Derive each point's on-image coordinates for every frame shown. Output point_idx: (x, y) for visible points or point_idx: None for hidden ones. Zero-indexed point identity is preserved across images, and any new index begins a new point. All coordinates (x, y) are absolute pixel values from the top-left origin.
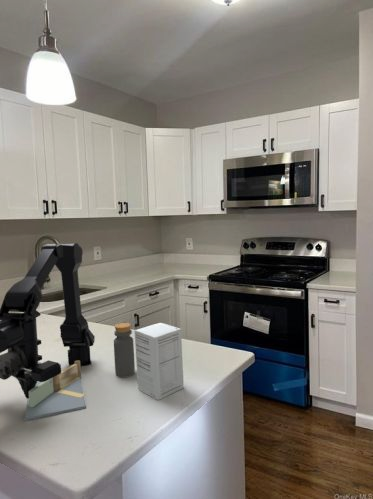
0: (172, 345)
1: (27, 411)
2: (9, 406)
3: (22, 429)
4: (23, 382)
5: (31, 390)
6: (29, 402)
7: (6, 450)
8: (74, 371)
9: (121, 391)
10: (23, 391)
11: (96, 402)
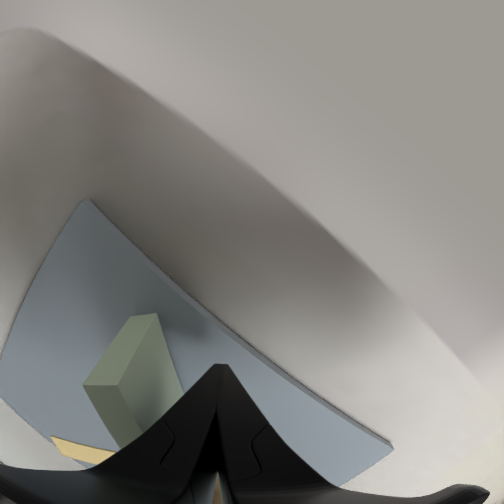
0: None
1: (136, 272)
2: (345, 287)
3: (44, 138)
4: (186, 467)
5: (111, 404)
6: (146, 328)
7: (21, 28)
8: None
9: (28, 468)
10: (241, 392)
11: (10, 417)
